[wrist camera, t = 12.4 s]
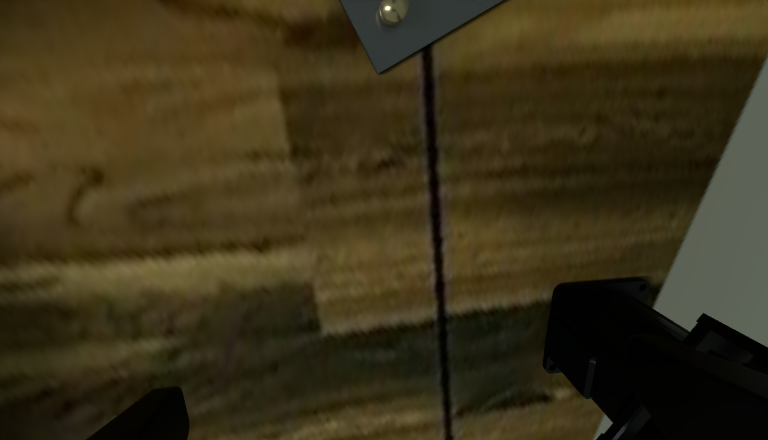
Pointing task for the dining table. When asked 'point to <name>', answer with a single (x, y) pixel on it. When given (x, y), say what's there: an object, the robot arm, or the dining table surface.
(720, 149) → the dining table surface
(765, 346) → the robot arm
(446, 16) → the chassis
